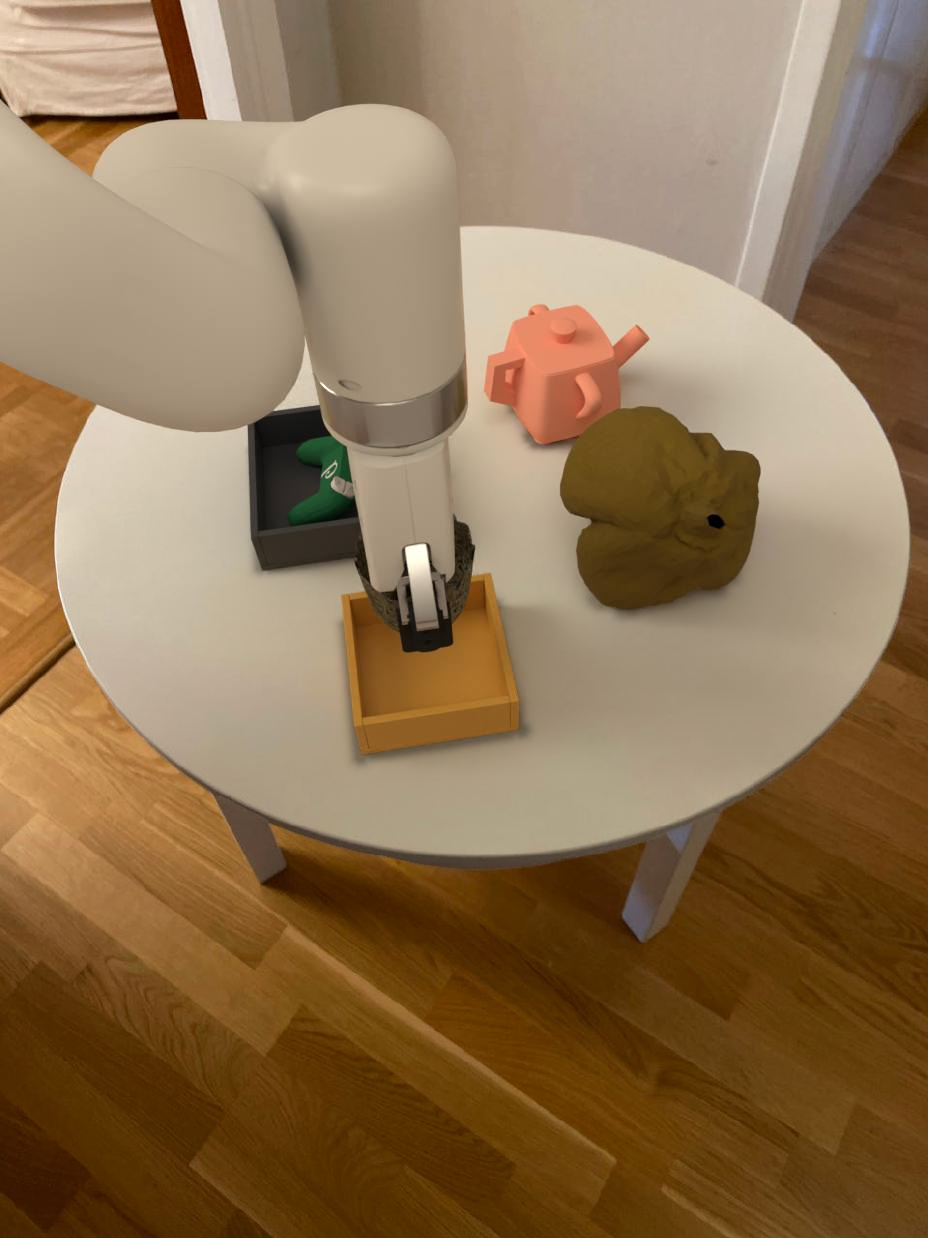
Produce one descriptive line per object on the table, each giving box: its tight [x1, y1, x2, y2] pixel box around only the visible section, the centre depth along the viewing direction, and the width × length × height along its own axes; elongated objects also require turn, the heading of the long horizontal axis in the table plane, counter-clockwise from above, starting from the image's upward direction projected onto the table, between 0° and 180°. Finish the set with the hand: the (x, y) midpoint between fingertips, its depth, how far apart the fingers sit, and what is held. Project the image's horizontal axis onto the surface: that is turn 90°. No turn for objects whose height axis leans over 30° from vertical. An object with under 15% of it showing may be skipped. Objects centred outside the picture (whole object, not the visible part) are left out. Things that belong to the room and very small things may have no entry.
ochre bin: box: [340, 572, 520, 755], centre depth 67 cm, size 11×11×4 cm
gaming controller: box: [286, 436, 355, 527], centre depth 78 cm, size 9×4×6 cm
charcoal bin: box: [246, 404, 361, 571], centre depth 78 cm, size 12×14×4 cm
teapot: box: [483, 303, 651, 445], centre depth 81 cm, size 12×12×10 cm
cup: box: [353, 512, 476, 633], centre depth 60 cm, size 8×7×8 cm
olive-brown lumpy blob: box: [559, 405, 762, 611], centre depth 69 cm, size 14×14×14 cm
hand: (419, 594), depth 61 cm, fingers closed on cup, 7 cm apart
